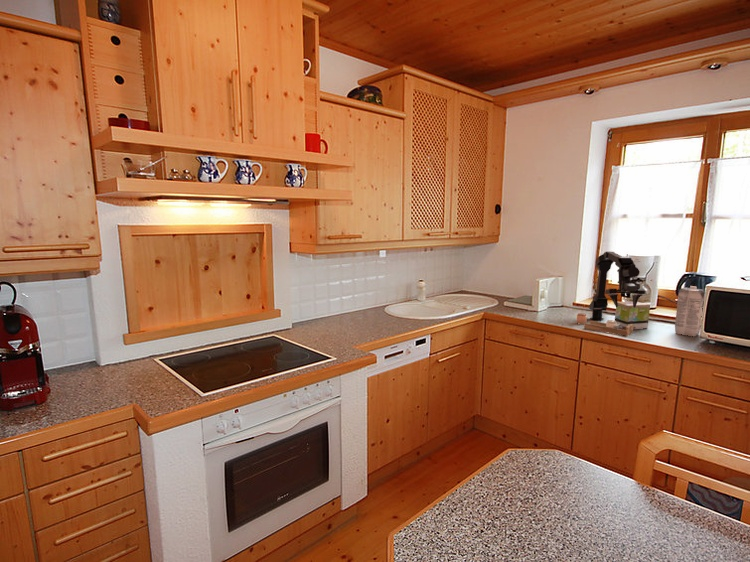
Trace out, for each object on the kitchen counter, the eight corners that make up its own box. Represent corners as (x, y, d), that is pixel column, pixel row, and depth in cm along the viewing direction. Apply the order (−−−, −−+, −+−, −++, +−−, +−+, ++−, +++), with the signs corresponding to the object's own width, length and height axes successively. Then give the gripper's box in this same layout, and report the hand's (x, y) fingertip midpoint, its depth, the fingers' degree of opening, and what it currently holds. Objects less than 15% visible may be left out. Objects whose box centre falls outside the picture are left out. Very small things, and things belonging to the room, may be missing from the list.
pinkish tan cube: (578, 322, 260) (579, 312, 259) (587, 323, 256) (588, 314, 255) (574, 323, 256) (575, 314, 256) (584, 325, 253) (585, 315, 252)
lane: (590, 325, 252) (590, 317, 251) (632, 332, 236) (633, 324, 235) (584, 328, 245) (584, 320, 244) (627, 336, 229) (628, 327, 228)
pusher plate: (618, 330, 239) (619, 323, 239) (623, 331, 238) (624, 324, 237) (615, 333, 235) (615, 325, 234) (620, 334, 233) (620, 326, 232)
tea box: (627, 330, 240) (630, 305, 238) (613, 326, 250) (615, 302, 248) (648, 328, 244) (650, 304, 242) (633, 324, 254) (635, 300, 251)
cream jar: (607, 329, 243) (608, 319, 242) (617, 331, 239) (618, 321, 238) (604, 331, 239) (605, 321, 238) (614, 333, 235) (615, 322, 234)
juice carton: (695, 337, 226) (701, 288, 222) (672, 333, 234) (677, 286, 230) (700, 335, 231) (706, 286, 227) (678, 330, 239) (684, 284, 235)
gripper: (613, 277, 225) (614, 306, 223) (650, 277, 223) (651, 307, 221) (604, 279, 236) (605, 307, 234) (639, 279, 234) (640, 307, 232)
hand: (625, 307), depth 230 cm, fingers open, 9 cm apart
